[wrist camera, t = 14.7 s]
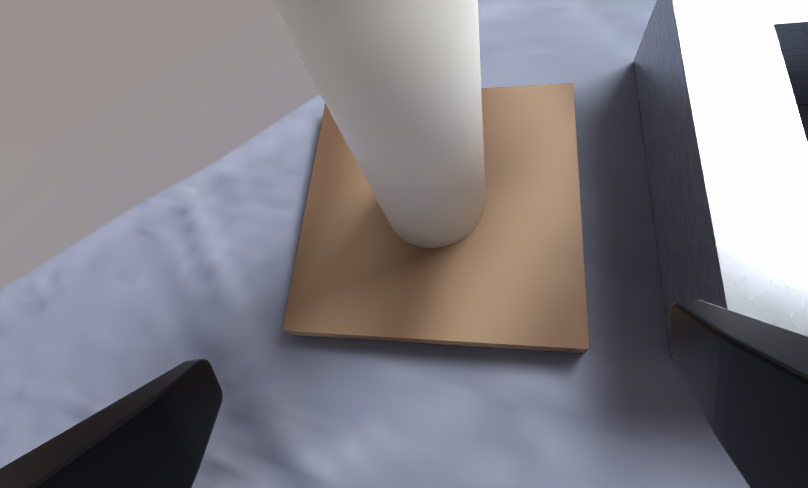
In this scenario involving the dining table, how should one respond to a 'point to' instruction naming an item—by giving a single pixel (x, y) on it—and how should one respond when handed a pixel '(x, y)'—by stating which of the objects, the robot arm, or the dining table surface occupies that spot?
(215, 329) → the dining table surface
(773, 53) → the collar
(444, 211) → the dome-capped cylinder
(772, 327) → the robot arm
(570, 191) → the pad
